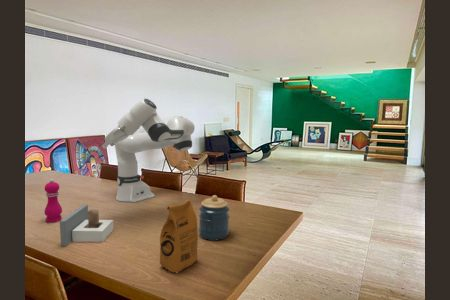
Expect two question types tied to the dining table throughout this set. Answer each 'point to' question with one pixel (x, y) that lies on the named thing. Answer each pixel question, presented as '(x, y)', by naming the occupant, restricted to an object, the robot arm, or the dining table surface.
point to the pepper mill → (52, 202)
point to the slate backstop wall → (72, 223)
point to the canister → (214, 218)
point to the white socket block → (92, 231)
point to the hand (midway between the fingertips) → (107, 146)
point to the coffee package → (179, 238)
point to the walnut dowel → (93, 218)
